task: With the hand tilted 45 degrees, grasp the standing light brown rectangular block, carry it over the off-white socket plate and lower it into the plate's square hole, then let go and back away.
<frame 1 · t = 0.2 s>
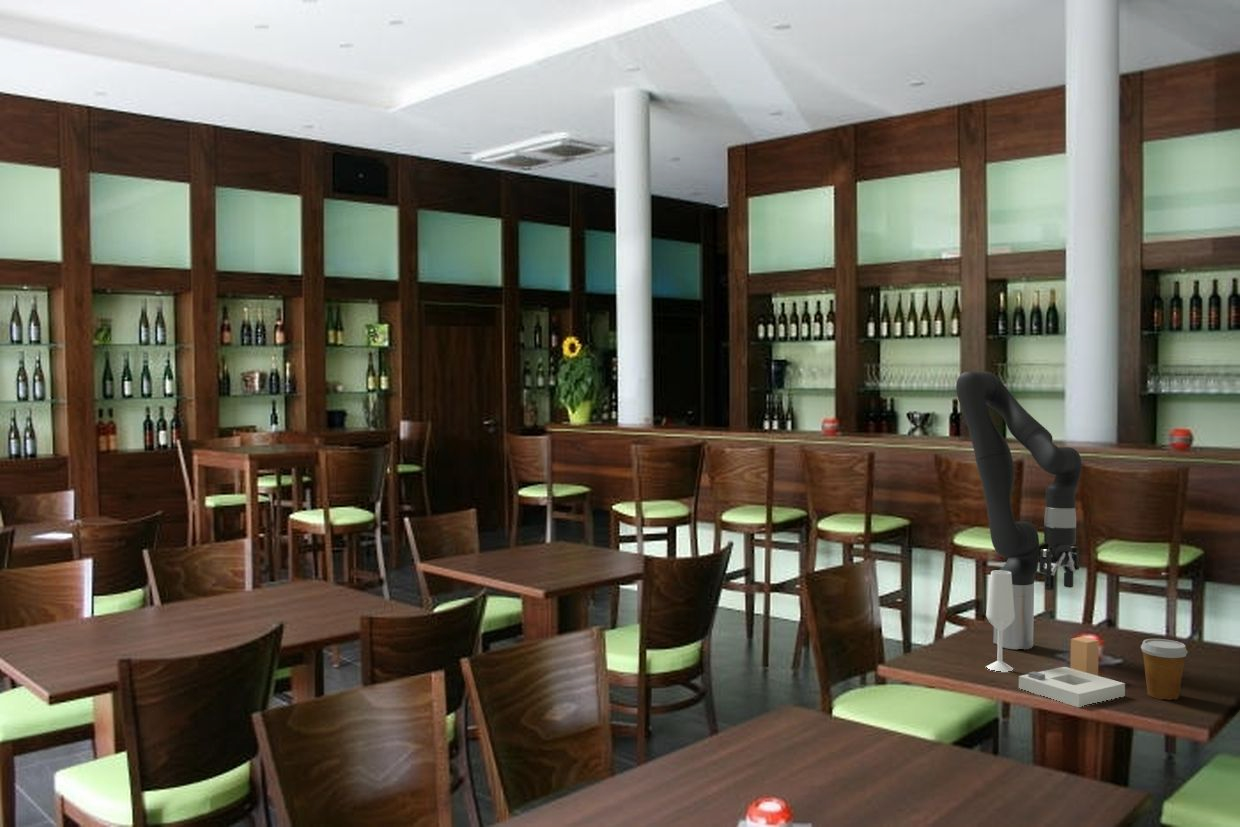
hand: (1059, 588, 277), 18 cm above the table, tool pointing down, fingers open, 8 cm apart
champagne flute: (999, 669, 268), on the table
light brown rectangular block: (1084, 676, 261), on the table
disposable coffee cup: (1162, 696, 246), on the table
socket plate: (1071, 692, 248), on the table
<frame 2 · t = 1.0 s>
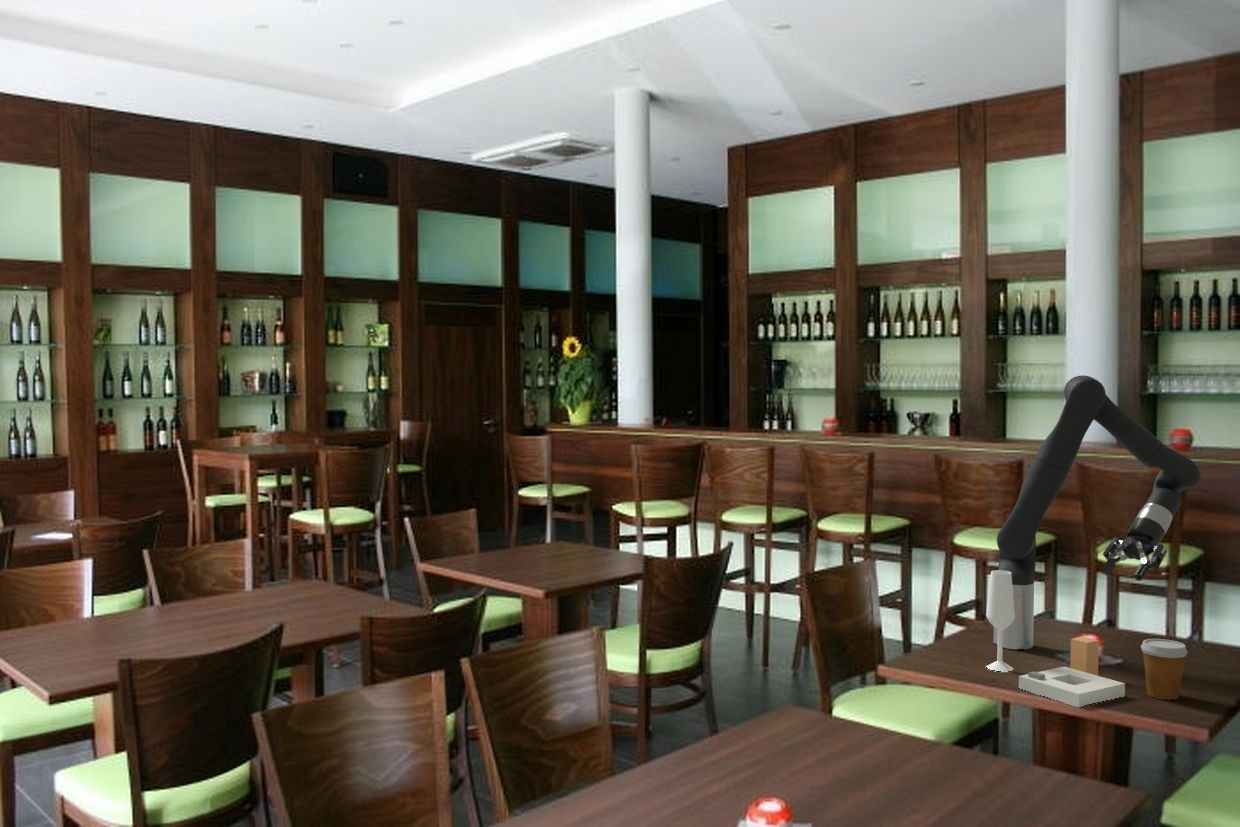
hand: (1121, 576, 266), 23 cm above the table, tool tilted 45°, fingers open, 8 cm apart
nothing on the table moved.
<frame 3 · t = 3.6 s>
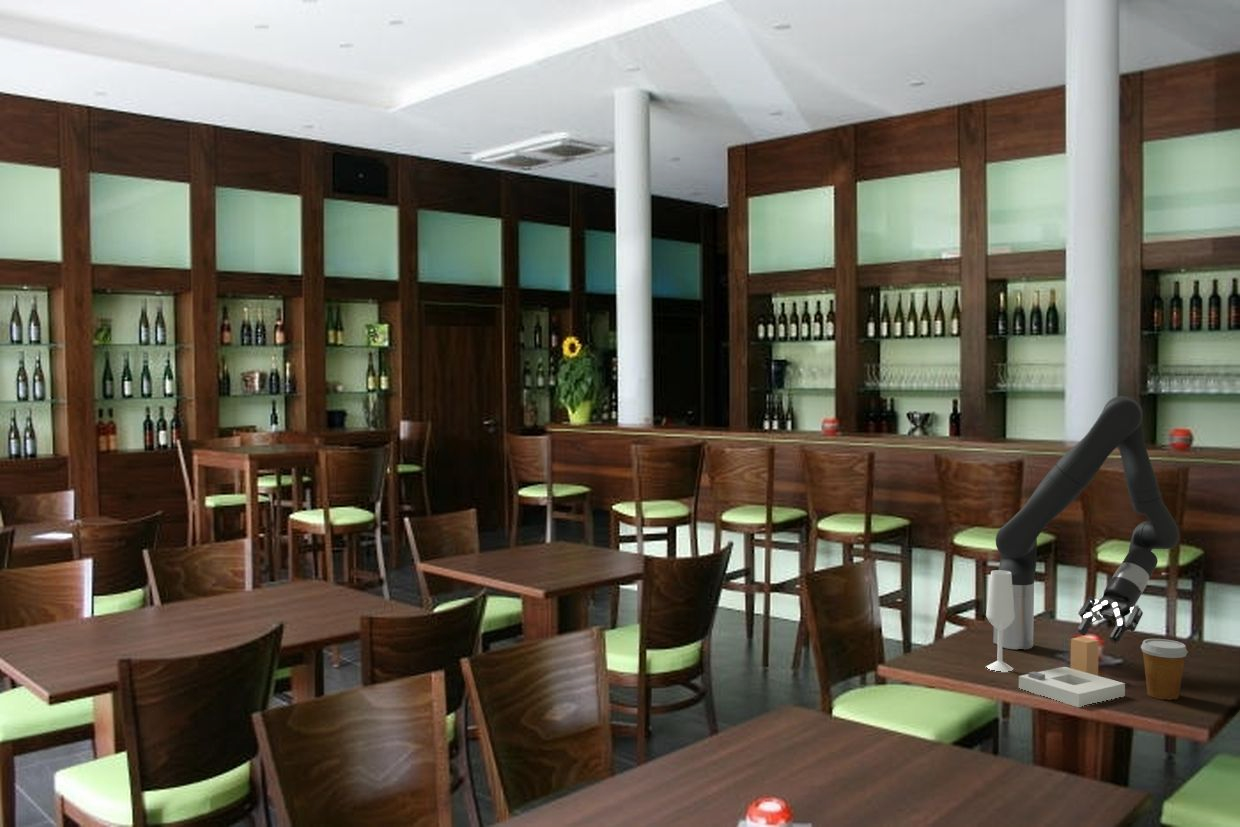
hand: (1096, 637, 263), 9 cm above the table, tool tilted 45°, fingers open, 8 cm apart
nothing on the table moved.
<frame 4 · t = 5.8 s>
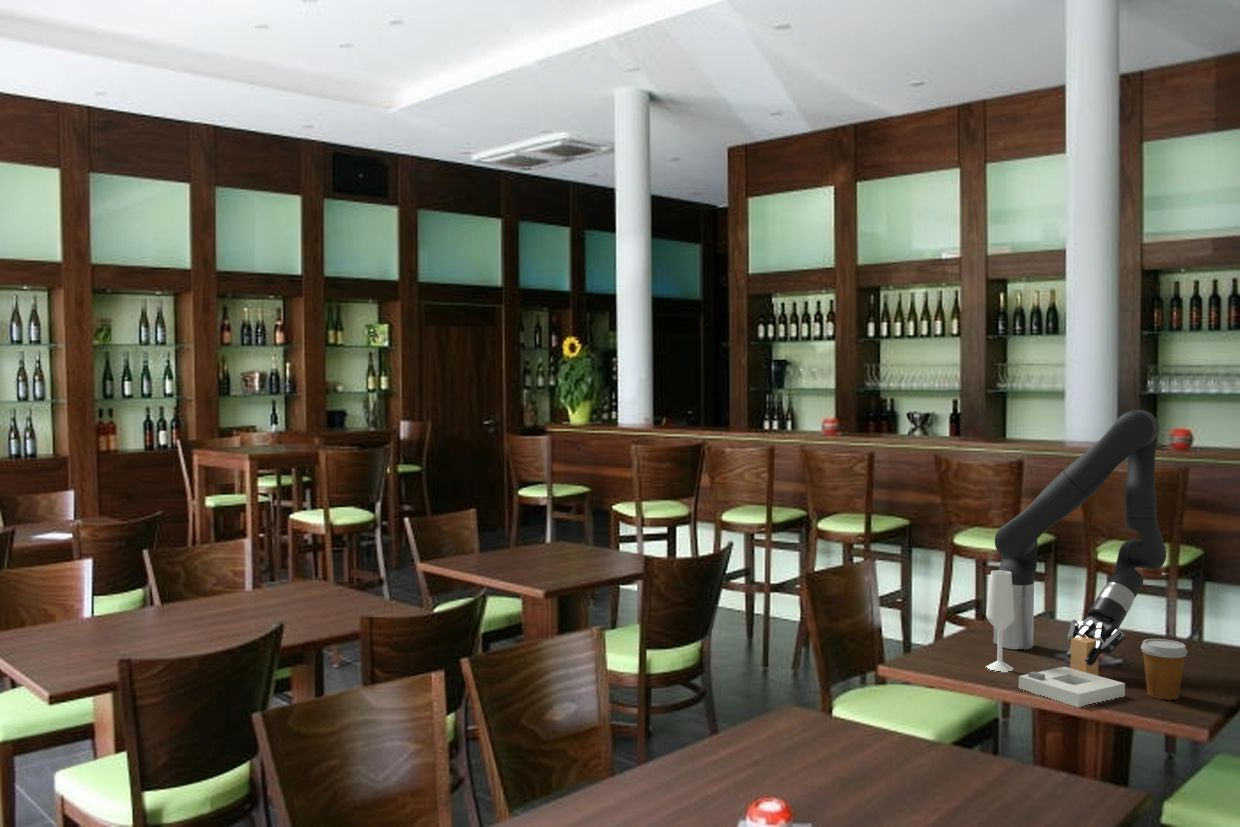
hand: (1079, 660, 260), 4 cm above the table, tool tilted 45°, fingers closed on light brown rectangular block, 4 cm apart
light brown rectangular block: (1084, 676, 261), on the table, touching gripper
everything else where it was.
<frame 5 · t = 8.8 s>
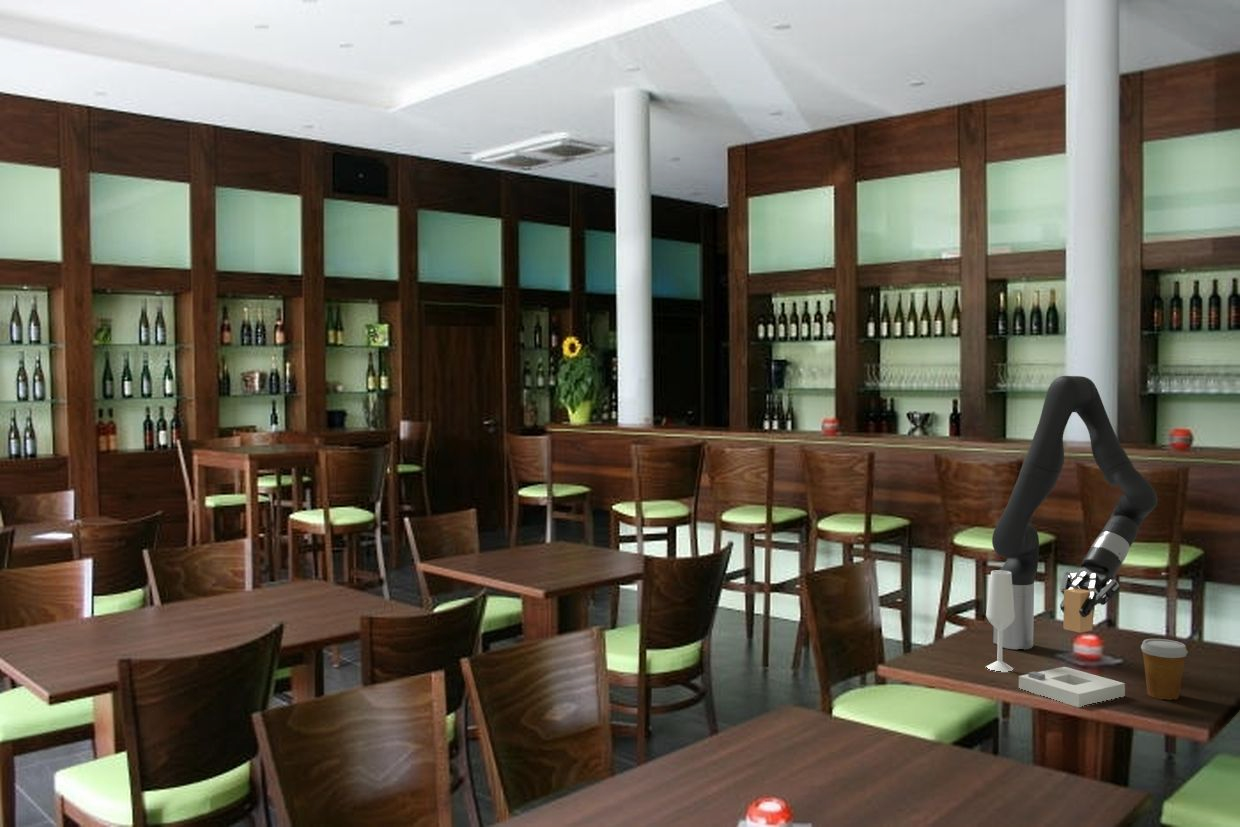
hand: (1072, 612, 248), 18 cm above the table, tool tilted 45°, fingers closed on light brown rectangular block, 4 cm apart
light brown rectangular block: (1077, 629, 249), point 14 cm above the table, touching gripper
everything else where it was.
when the fingers open (6 cm above the table, at t = 11.9 s): light brown rectangular block drops 1 cm, resting on socket plate.
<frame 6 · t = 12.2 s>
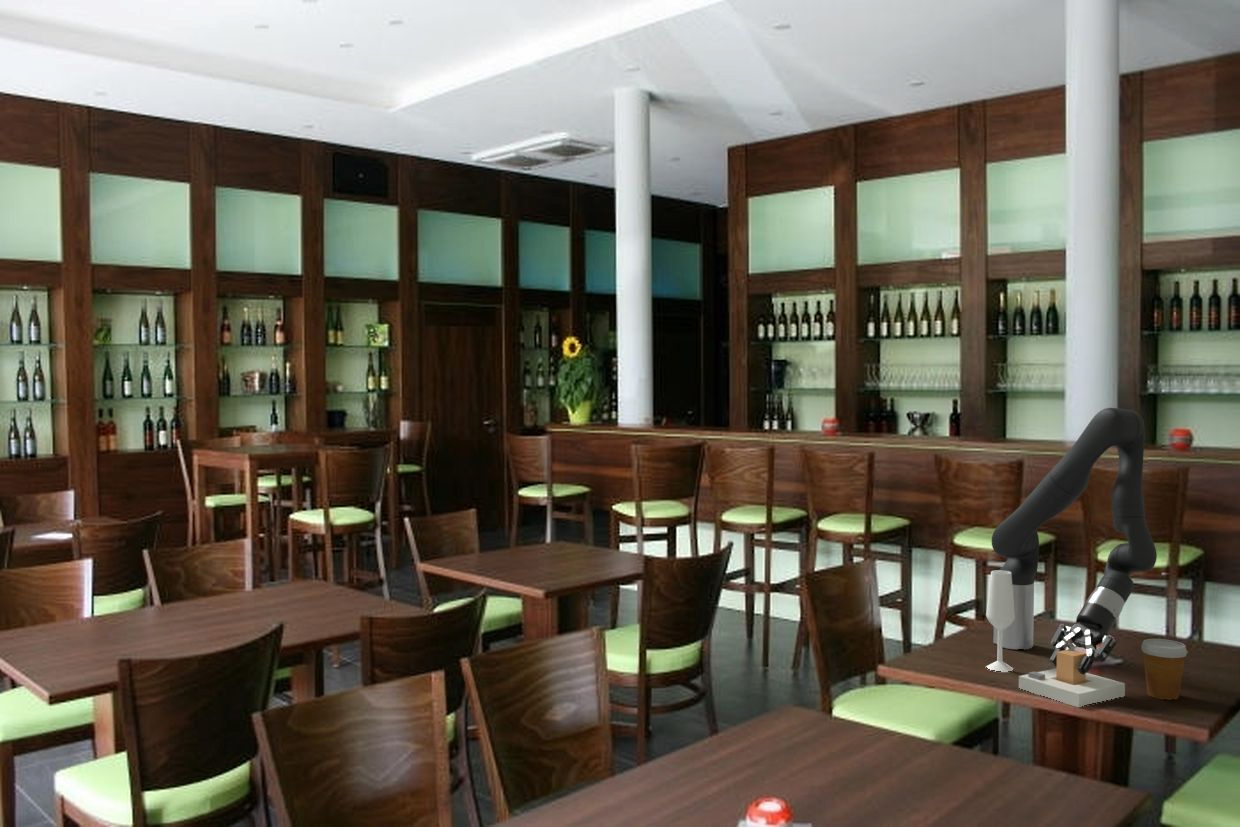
hand: (1066, 668, 247), 6 cm above the table, tool tilted 45°, fingers open, 6 cm apart
light brown rectangular block: (1070, 691, 248), resting on socket plate
everything else where it was.
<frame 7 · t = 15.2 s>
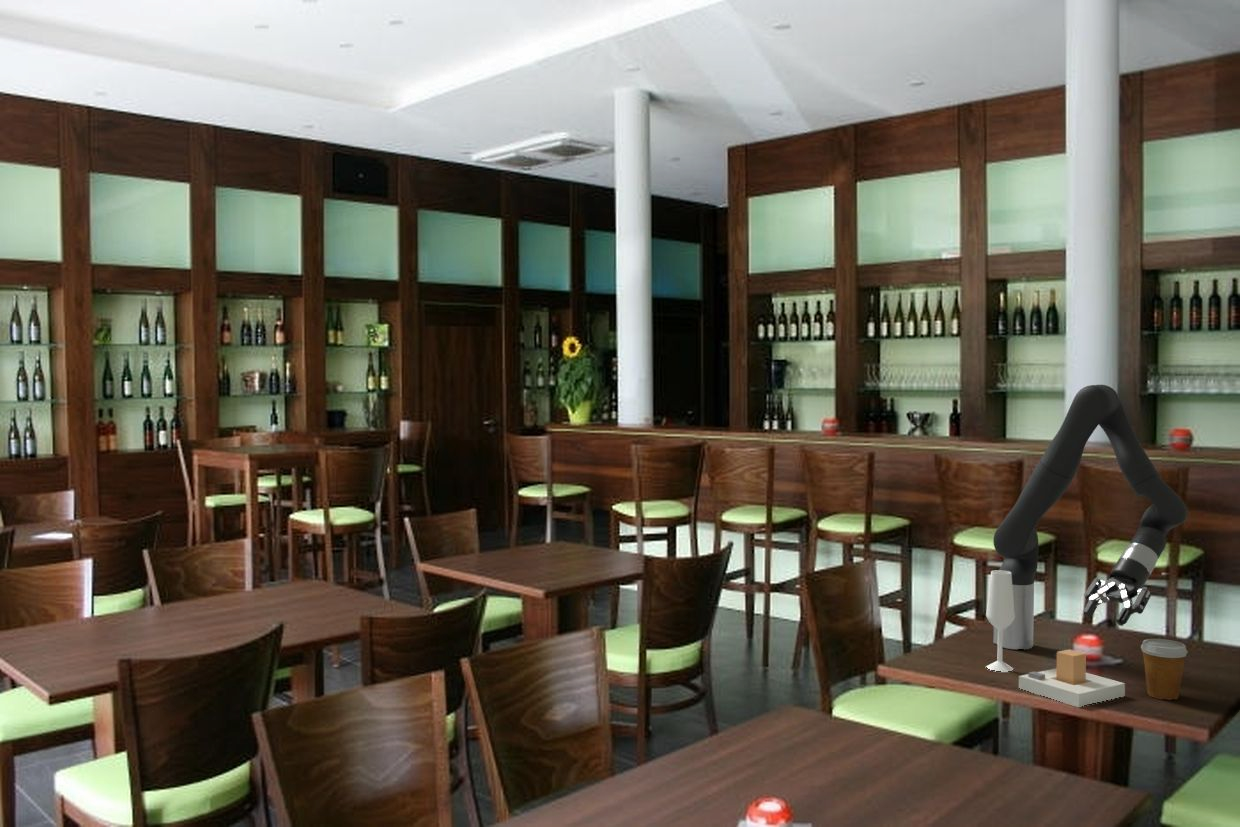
hand: (1102, 619, 253), 16 cm above the table, tool tilted 45°, fingers open, 8 cm apart
nothing on the table moved.
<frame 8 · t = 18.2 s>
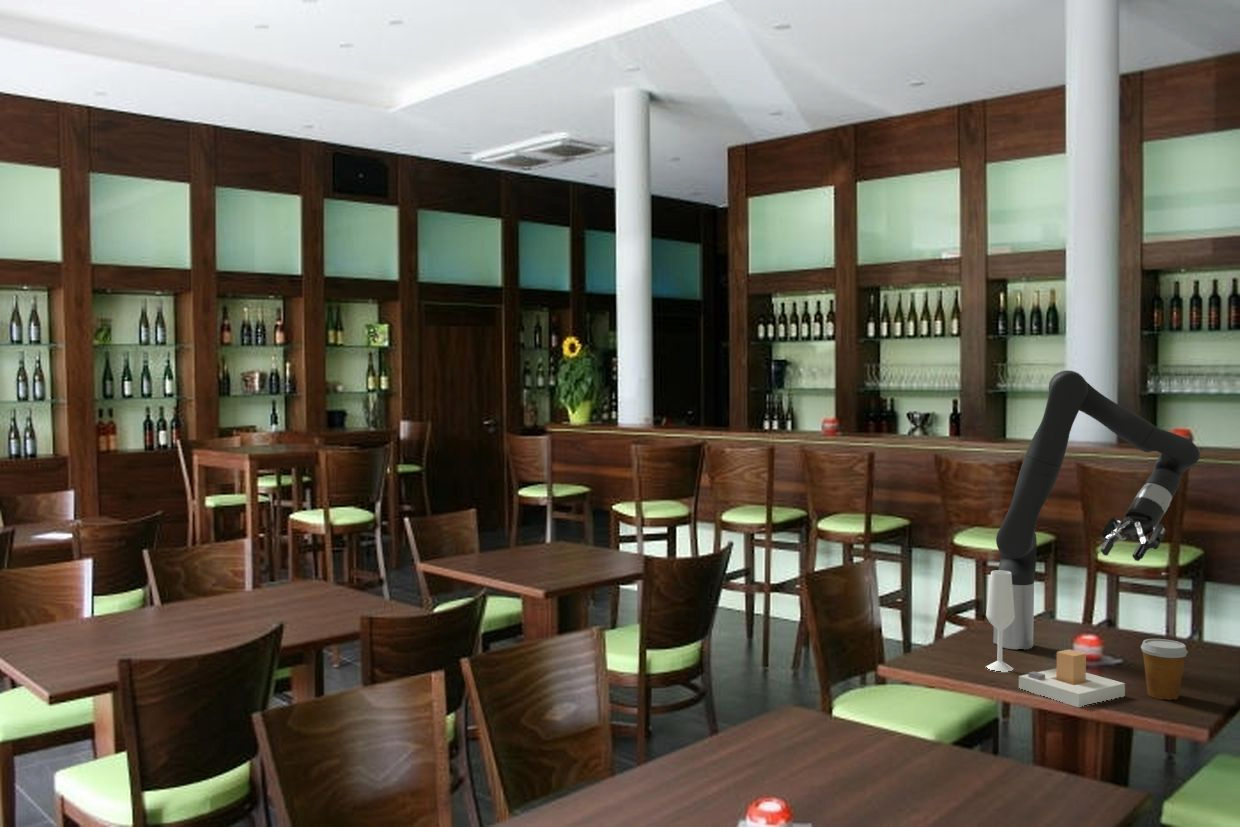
hand: (1119, 556, 263), 29 cm above the table, tool tilted 45°, fingers open, 8 cm apart
nothing on the table moved.
at the end: light brown rectangular block 0.1 cm off-centre on the socket plate, point 0.2 cm above the socket plate's base; light brown rectangular block tilted 0°; the gripper is holding nothing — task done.
